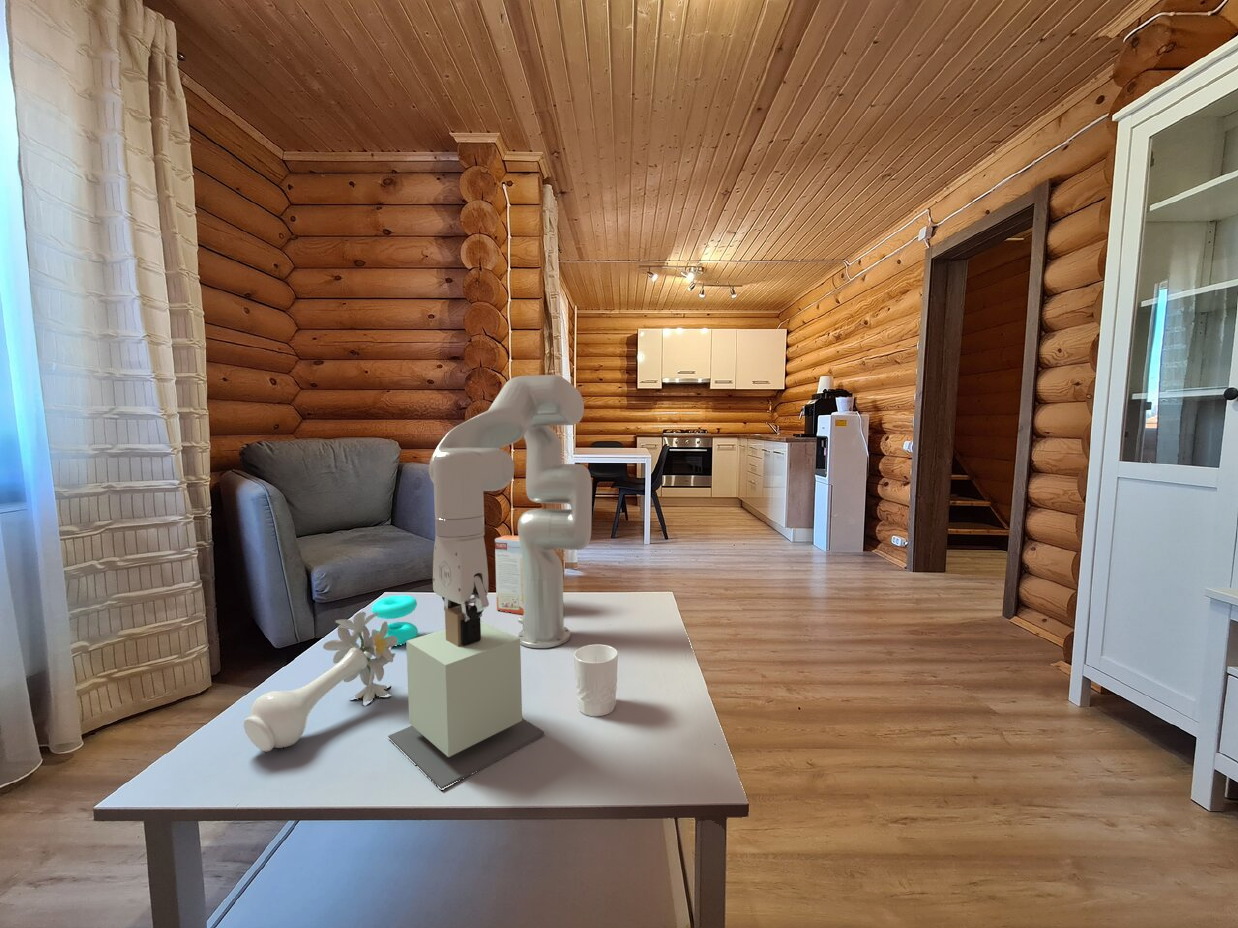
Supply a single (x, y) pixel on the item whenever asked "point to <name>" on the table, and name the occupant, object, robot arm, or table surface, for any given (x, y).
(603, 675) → the white cup
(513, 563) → the cracker box
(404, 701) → the table surface
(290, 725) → the flower vase
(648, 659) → the table surface
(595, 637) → the table surface
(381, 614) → the donuts
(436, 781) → the mat
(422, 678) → the pale green block
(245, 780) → the table surface
